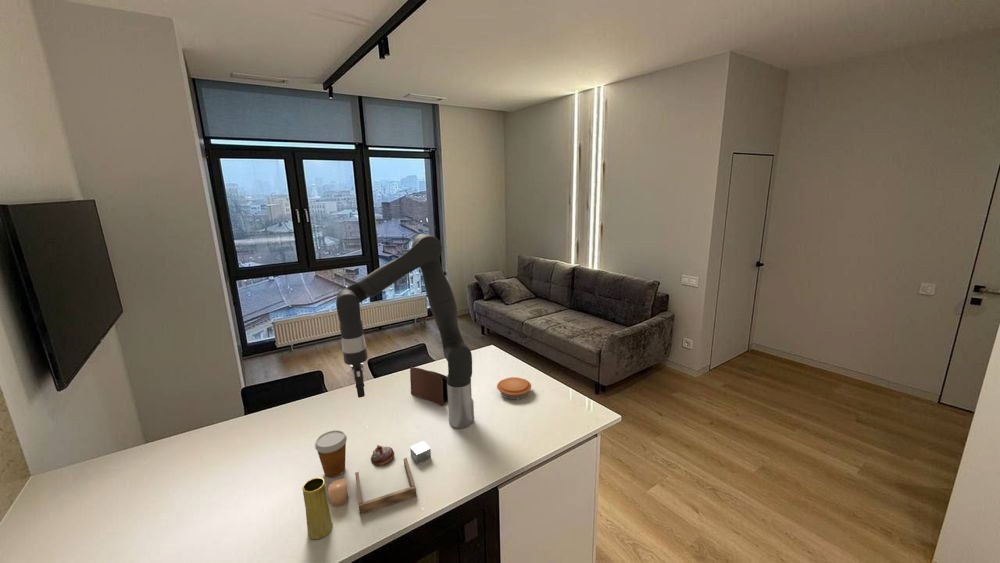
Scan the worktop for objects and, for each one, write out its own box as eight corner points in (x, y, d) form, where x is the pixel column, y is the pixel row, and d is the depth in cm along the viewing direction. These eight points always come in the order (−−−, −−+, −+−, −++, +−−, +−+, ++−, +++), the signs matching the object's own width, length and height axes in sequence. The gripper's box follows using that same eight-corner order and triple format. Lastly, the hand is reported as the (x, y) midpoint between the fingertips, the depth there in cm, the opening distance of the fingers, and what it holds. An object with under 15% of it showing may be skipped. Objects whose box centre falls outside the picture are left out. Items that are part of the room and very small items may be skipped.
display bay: (407, 465, 125) (406, 457, 124) (416, 496, 112) (415, 487, 111) (356, 480, 119) (355, 472, 118) (359, 515, 106) (358, 506, 105)
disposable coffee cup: (339, 483, 118) (334, 449, 115) (312, 479, 120) (307, 446, 117) (356, 462, 127) (352, 430, 124) (331, 459, 129) (326, 427, 126)
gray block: (424, 451, 132) (423, 441, 131) (431, 458, 128) (430, 448, 127) (410, 457, 129) (410, 447, 128) (417, 465, 125) (416, 454, 124)
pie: (532, 401, 162) (532, 391, 161) (496, 402, 163) (496, 391, 161) (530, 384, 177) (530, 374, 176) (497, 384, 178) (497, 375, 177)
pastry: (366, 459, 129) (365, 446, 128) (386, 448, 134) (385, 435, 133) (378, 470, 123) (377, 456, 122) (399, 458, 129) (397, 445, 128)
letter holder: (442, 407, 160) (440, 376, 156) (410, 394, 171) (408, 365, 168) (458, 397, 168) (456, 367, 164) (426, 385, 179) (424, 357, 176)
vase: (313, 521, 104) (306, 476, 101) (336, 519, 104) (329, 475, 101) (303, 540, 98) (296, 494, 95) (328, 538, 98) (321, 492, 95)
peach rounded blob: (348, 491, 114) (346, 477, 113) (349, 503, 110) (347, 488, 109) (330, 496, 112) (328, 482, 111) (330, 509, 108) (328, 494, 107)
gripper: (368, 353, 123) (373, 397, 127) (363, 338, 136) (369, 379, 139) (343, 358, 120) (350, 403, 124) (341, 342, 133) (347, 384, 136)
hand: (360, 391), depth 131 cm, fingers open, 8 cm apart
